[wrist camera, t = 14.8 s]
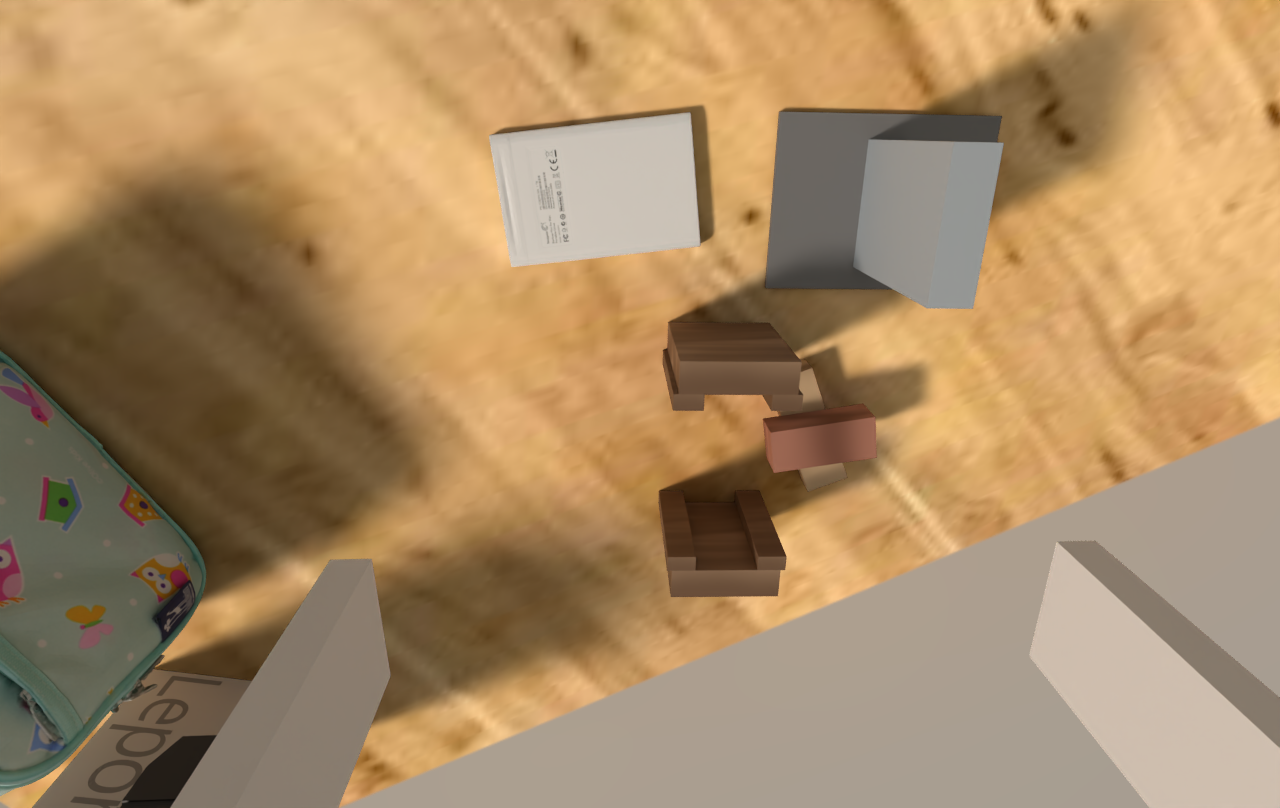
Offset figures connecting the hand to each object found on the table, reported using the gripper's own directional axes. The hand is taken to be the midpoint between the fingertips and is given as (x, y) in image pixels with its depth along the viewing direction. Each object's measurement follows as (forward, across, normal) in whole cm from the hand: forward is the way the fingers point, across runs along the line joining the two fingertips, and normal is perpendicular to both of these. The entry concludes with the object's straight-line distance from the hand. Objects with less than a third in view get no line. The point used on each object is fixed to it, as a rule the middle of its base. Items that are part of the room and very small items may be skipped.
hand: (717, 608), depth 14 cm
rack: (+36, +5, -12) cm, 38 cm away
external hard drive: (+37, -3, +5) cm, 38 cm away
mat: (+36, +16, +4) cm, 40 cm away
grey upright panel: (+36, +16, +4) cm, 39 cm away
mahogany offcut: (+34, +12, -11) cm, 38 cm away
